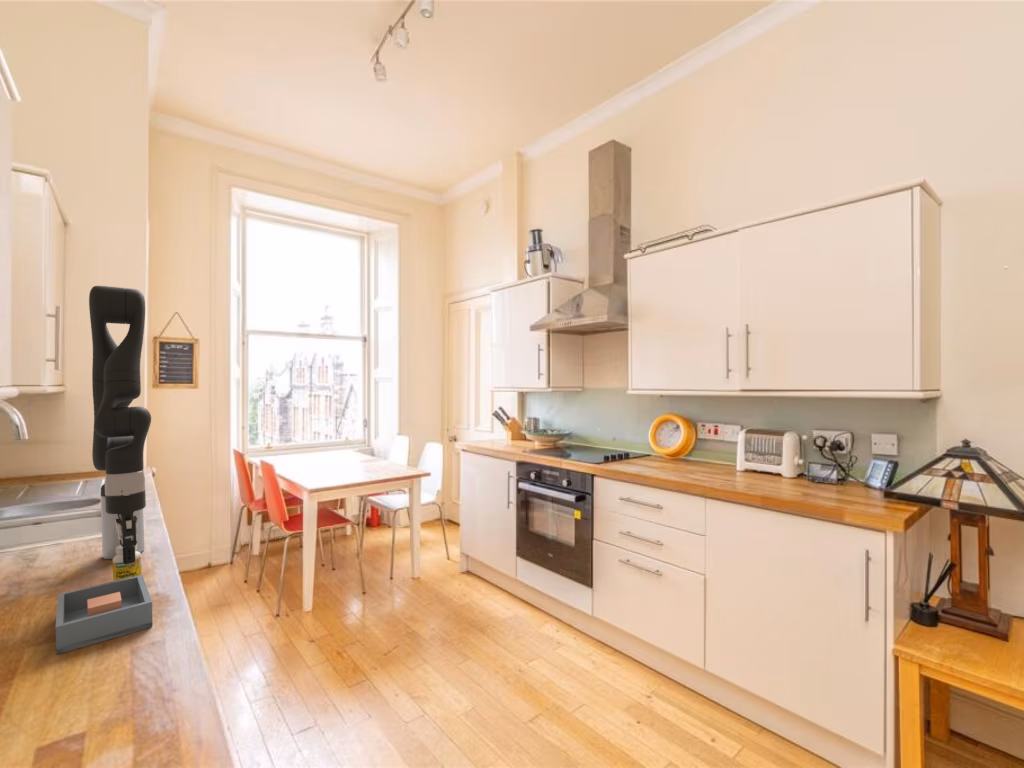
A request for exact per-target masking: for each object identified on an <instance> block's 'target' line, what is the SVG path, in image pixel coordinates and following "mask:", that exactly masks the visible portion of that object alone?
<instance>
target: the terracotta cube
mask: <svg viewBox="0 0 1024 768" xmlns="http://www.w3.org/2000/svg"><path fill="white" fill-rule="evenodd" d="M87 605H88V617H89V616H93V615H97V614H101V613H105V612H109V611H112V610H116V609H120V608H122V600H121V595H120V592H117V593H113V594H108V595H104V596H100V597H96V598H92V599H88V600H87Z"/></svg>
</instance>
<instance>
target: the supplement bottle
mask: <svg viewBox="0 0 1024 768" xmlns="http://www.w3.org/2000/svg"><path fill="white" fill-rule="evenodd" d="M136 550H137V543H136V546H135V562H133V563H129V564H124V563H123V548H122V547H121V545H119V546H117V547H116V554H117V555H116V556H115V557H114V558H113V559H112V576H113V577H112V581H117V580H121V579H125V578H130V577H134V576H138V575H143V571H142V570H143V569H142V554H141V553H142V552H141V553H140V552H138V551H136Z"/></svg>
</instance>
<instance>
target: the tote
mask: <svg viewBox="0 0 1024 768" xmlns="http://www.w3.org/2000/svg"><path fill="white" fill-rule="evenodd" d="M148 589H149V588H148V586H147V584H146V581H145V578H144V575H143V574H142V575H138V576H134V577H130V578H125V579H121V580H117V581H113V580H112V581H110V582H109V581H108V582H104V583H100V584H96V585H92V586H88V587H87V586H86V587H83V588H78V589H73V590H71V591H64V592H61V593H57V598H56V599H57V603H56V613H55V614H56V615H55V616H56V617H55V649H56V656H57V655H60V654H64V653H67V652H70V651H74V650H78V649H82V648H83V647H87V646H92V645H94V644H97V643H98V644H99V643H102V642H105V641H108V640H109V641H110V640H112V639H115V638H119V637H122V636H125V635H129V634H133V633H136V632H139V631H143V630H146V629H147V630H148V629H149V628H152V627H153V600H152V598H151V595H150V592H149V590H148ZM117 592H120V595H121V600H122V608H120V609H116V610H112V611H109V612H105V613H101V614H97V615H93V616H89V617H88V605H87V600H88V599H92V598H96V597H100V596H104V595H108V594H113V593H117Z"/></svg>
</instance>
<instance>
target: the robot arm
mask: <svg viewBox="0 0 1024 768" xmlns="http://www.w3.org/2000/svg"><path fill="white" fill-rule="evenodd" d="M88 308H89V319H90V329H91V340H92V369H91V370H92V371H91V373H92V374H91V376H92V378H91V381H92V384H91V385H92V386H91V387H92V400H93V412H94V413H93V433H92V435H93V436H92V450H91V451H92V455H91V456H92V464H93V467H94V468H95V469H96V470H97V471H100V472H102V471H103V472H105V480H104V484H102V485H101V486H100V511H101V513H100V515H101V517H100V518H101V544H102V558H103V559H105V560H113V558H114V557H115V556H116V555H117V554H116V547H117V546H119V545H121V547H122V548H123V563H124V564H129V563H133V562H135V546H136V543H137V550H136V551H138V552H140V553H143V552H144V551H145V524H144V523H145V522H144V521H145V519H144V517H145V516H144V509H145V508H146V506H147V499H146V477H145V473H144V447H145V443H146V438H147V435H148V432H149V430H150V427H151V423H152V415H151V412H150V411H149V410H148V408H147V407H146V408H145V407H144V406H130V405H131V404H132V403H133V401H134V400H135V399H138V398H139V397H140V396H141V391H142V390H141V389H142V388H141V387H142V385H141V384H142V383H141V382H142V381H141V380H142V379H141V357H142V351H143V349H142V348H143V344H144V333H145V321H146V299H145V295H144V293H143V292H142V291H141V290H140V289H136V288H128V287H118V286H117V287H116V286H106V285H94V286H92V287H91V289H90V291H89V296H88ZM107 324H120V325H121V324H122V325H129V327H128V331H127V333H126V335H125V337H124V338H123V340H122V341H121V342H120V343H119V345H117V343H116V342H115V340H114V339H113V337H112V335H111V333H110V331H109V328H108V326H107Z"/></svg>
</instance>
